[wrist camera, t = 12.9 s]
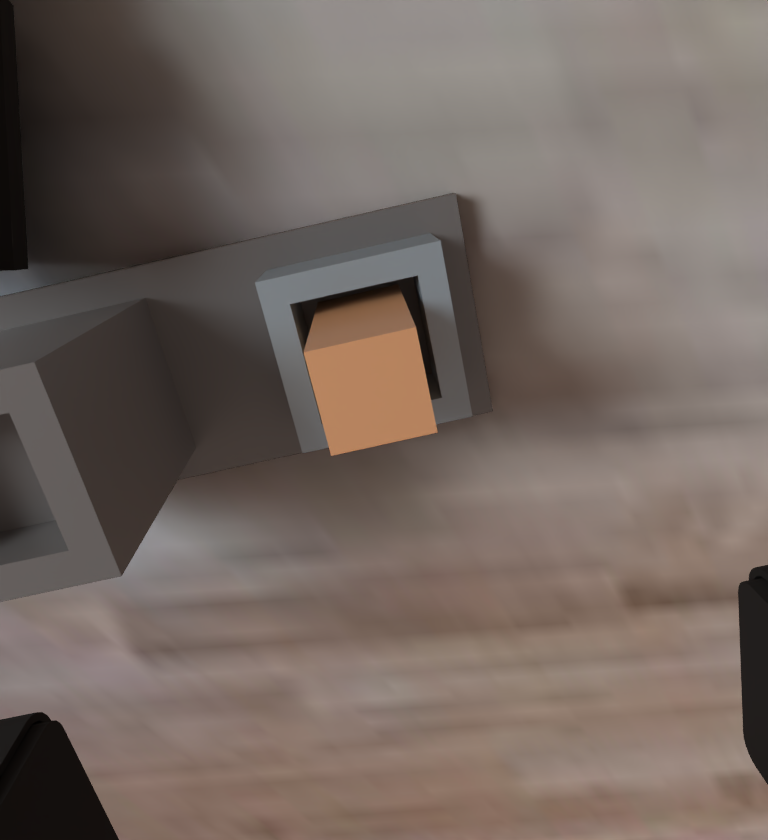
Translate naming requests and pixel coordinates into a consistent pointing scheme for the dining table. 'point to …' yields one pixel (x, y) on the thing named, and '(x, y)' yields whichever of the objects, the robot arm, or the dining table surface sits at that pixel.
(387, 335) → the peg
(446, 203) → the socket stand
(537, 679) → the dining table surface
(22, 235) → the cable
